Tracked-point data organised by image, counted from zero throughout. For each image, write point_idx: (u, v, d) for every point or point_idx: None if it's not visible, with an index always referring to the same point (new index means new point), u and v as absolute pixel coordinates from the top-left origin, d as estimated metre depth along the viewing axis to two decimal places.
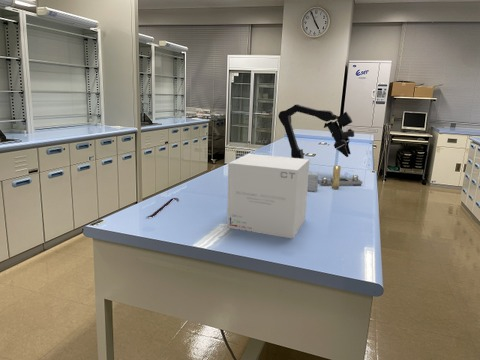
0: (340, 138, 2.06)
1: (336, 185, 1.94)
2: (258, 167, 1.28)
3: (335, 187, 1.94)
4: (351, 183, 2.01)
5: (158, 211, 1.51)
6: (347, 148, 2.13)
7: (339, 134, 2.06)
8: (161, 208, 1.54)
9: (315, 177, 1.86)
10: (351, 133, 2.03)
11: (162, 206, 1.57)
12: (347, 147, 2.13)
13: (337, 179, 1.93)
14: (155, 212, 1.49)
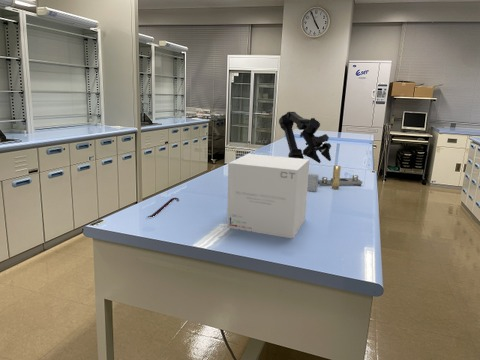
0: (312, 145, 1.99)
1: (336, 185, 1.94)
2: (258, 167, 1.28)
3: (335, 187, 1.94)
4: (351, 183, 2.01)
5: (158, 211, 1.51)
6: (327, 154, 2.02)
7: (311, 141, 2.00)
8: (161, 208, 1.54)
9: (315, 177, 1.87)
10: (321, 138, 1.95)
11: (162, 206, 1.57)
12: (327, 154, 2.02)
13: (337, 179, 1.93)
14: (155, 212, 1.49)
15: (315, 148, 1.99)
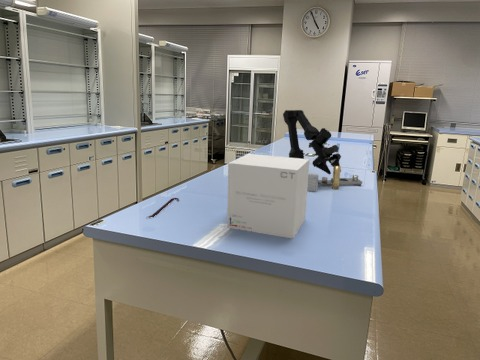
0: (322, 155, 1.95)
1: (336, 185, 1.94)
2: (258, 167, 1.28)
3: (335, 187, 1.94)
4: (351, 183, 2.01)
5: (159, 211, 1.51)
6: (337, 165, 1.98)
7: (321, 151, 1.96)
8: (162, 208, 1.54)
9: (315, 177, 1.86)
10: (331, 149, 1.91)
11: (162, 206, 1.57)
12: (337, 164, 1.98)
13: (337, 179, 1.93)
14: (156, 212, 1.49)
15: (325, 159, 1.95)
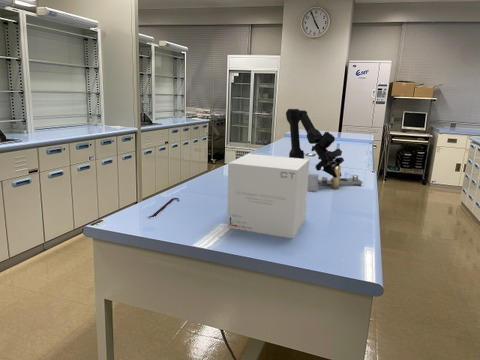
0: (325, 159, 1.94)
1: (336, 185, 1.94)
2: (258, 167, 1.28)
3: (335, 187, 1.94)
4: (351, 183, 2.01)
5: (159, 211, 1.51)
6: None
7: (324, 155, 1.95)
8: (162, 208, 1.54)
9: (315, 177, 1.86)
10: (334, 153, 1.90)
11: (163, 206, 1.57)
12: None
13: (337, 179, 1.93)
14: (156, 212, 1.49)
15: (331, 162, 1.96)
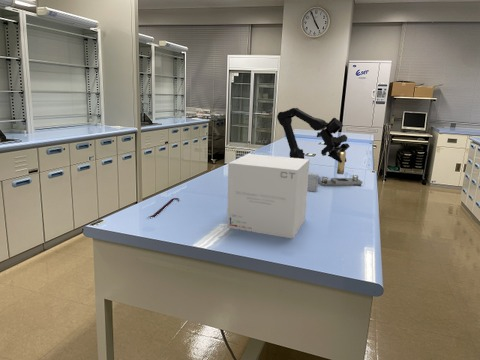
0: (331, 145, 1.99)
1: (341, 170, 1.98)
2: (258, 167, 1.28)
3: (340, 172, 1.98)
4: (351, 183, 2.01)
5: (159, 211, 1.51)
6: None
7: (329, 141, 2.00)
8: (162, 208, 1.54)
9: (315, 177, 1.86)
10: (339, 138, 1.95)
11: (163, 206, 1.57)
12: None
13: (342, 164, 1.97)
14: (156, 212, 1.49)
15: (336, 148, 2.00)
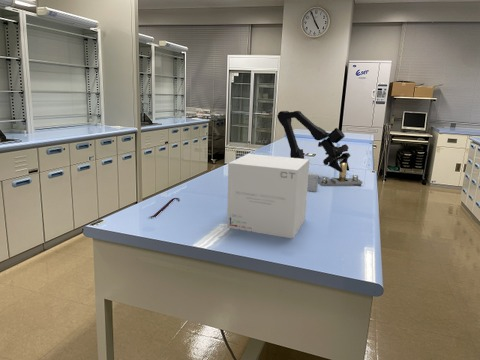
0: (332, 154, 2.04)
1: None
2: (258, 167, 1.28)
3: None
4: (351, 183, 2.01)
5: (160, 211, 1.51)
6: None
7: (331, 151, 2.04)
8: (163, 208, 1.54)
9: (315, 177, 1.86)
10: (341, 148, 1.99)
11: (164, 206, 1.57)
12: None
13: (344, 175, 2.02)
14: (157, 212, 1.49)
15: (336, 158, 2.04)
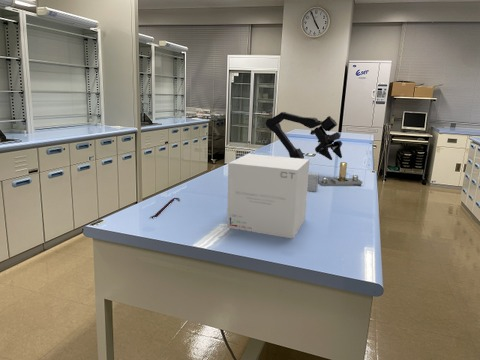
0: (324, 142, 2.06)
1: None
2: (258, 167, 1.28)
3: None
4: (351, 183, 2.01)
5: (161, 211, 1.51)
6: (339, 152, 2.09)
7: (323, 138, 2.07)
8: (163, 208, 1.54)
9: (315, 177, 1.86)
10: (333, 136, 2.02)
11: (164, 206, 1.57)
12: (338, 151, 2.09)
13: (343, 175, 2.02)
14: (158, 212, 1.49)
15: (327, 146, 2.06)
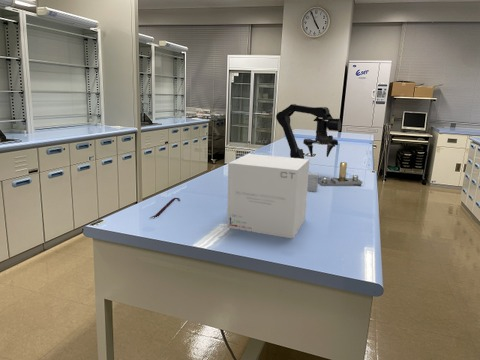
0: (316, 138, 2.09)
1: None
2: (258, 167, 1.28)
3: None
4: (351, 183, 2.01)
5: (161, 211, 1.51)
6: (328, 151, 2.12)
7: (317, 134, 2.08)
8: (164, 208, 1.54)
9: (315, 177, 1.86)
10: (320, 140, 2.03)
11: (164, 206, 1.57)
12: (328, 150, 2.11)
13: (343, 175, 2.02)
14: (158, 212, 1.49)
15: (317, 142, 2.09)
